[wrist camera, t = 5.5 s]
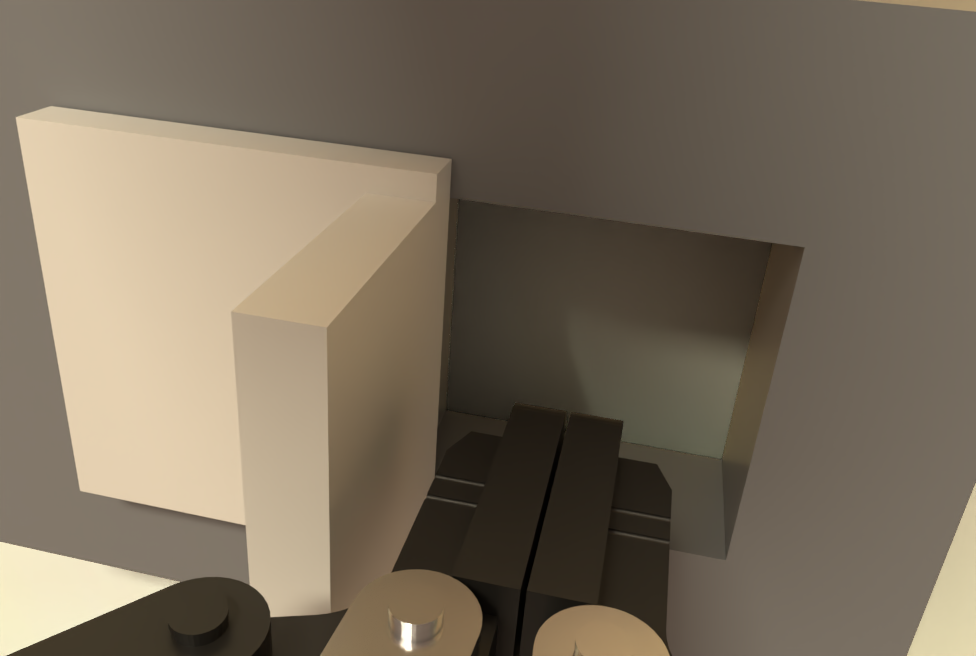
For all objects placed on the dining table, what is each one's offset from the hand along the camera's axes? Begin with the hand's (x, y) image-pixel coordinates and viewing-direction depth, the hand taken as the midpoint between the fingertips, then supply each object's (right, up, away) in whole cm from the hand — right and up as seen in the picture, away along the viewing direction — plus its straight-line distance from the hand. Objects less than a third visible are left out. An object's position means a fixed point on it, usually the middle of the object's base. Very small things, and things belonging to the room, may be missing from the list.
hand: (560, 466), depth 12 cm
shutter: (-5, +2, +2) cm, 6 cm away
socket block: (-2, +3, +5) cm, 6 cm away
